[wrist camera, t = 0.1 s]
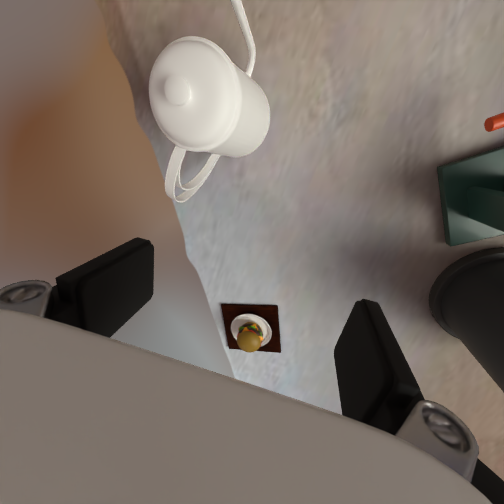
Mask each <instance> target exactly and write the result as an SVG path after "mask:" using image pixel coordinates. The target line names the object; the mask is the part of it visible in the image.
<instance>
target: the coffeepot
mask: <svg viewBox="0 0 504 504" xmlns="http://www.w3.org/2000/svg"><path fill="white" fill-rule="evenodd" d="M230 1H231V4H232V6H233V9H234V12H235V14H236V17H237V20H238V22H239V25H240V28H241V30H242V33H243V36H244V38H245V41H246V44H247V47H248V51H249V58H248V64H247V67H246V71H245V72H243V71H242V70H241V69H240V68H239V67H237V66H236V65H235V64H234V63H233V62H232V61H231V60H230V58H229V57H228V56H227V54H226V53H225V52H224V51H223V50H222V49H221V48H220V47H219V46H218V45H216V44H215V43H213V42H212V41H210V40H208V39H205V38H202V37H197V36H187V37H182V38H179V39H177V40H175V41H173V42H171V43H170V44H169V45H167V46H166V47H165V48H164V49H163V50H162V52H161V53H160V54H159V56H158V57H157V59H156V61H155V63H154V65H153V68H152V70H151V74H150V79H149V98H150V105H151V109H152V112H153V115H154V118H155V120H156V122H157V124H158V126H159V128H160V129H161V131H162V132H163V133H164V135H165V136H166V137H167V138H168V139H169V140H170V141H171V142H173V143H174V144H176V146H175V148H174V150H173V153H172V155H171V158H170V161H169V165H168V168H167V173H166V178H165V191H166V194H167V196H168V197H170V198H172V199H173V200H175V201H177V202H184V201H186V200H188V199H189V198H190V197H191V196H193V195H194V194H195V193H196V192H197V190H198V189H199V188H200V187H201V186H202V184H203V183H204V181H205V180H206V179H207V177H208V176H209V174H210V172H211V171H212V169H213V167H214V166H215V164H216V162H217V160H218V158H219V157H220V156H227V157H242V156H246V155H248V154H250V153H252V152H253V151H254V150H256V149H257V148H258V147H259V146H260V145H261V143H262V142H263V140H264V139H265V137H266V134H267V132H268V129H269V124H270V108H269V103H268V100H267V97H266V95H265V93H264V91H263V90H262V88H261V87H260V86H259V85H258V84H257V83H256V82H255V81H254V80H253V79H252V78H251V74H252V71H253V67H254V63H255V57H256V51H255V44H254V40H253V37H252V34H251V31H250V27H249V24H248V21H247V18H246V14H245V11H244V8H243V5H242V2H241V0H230ZM186 150H188V151H194V152H204V151H205V152H210V153H212V155H211V156H210V158H209V159H208V161H207V163H206V164H205V166H204V167H203V169H202V170H201V171H200V172H199V173H198V175H197V176H196V177H195V178H194V179H192V180H191V181H190V182H188V183H186V184H183V185H181V183H180V168H181V163H182V160H183V158H184V156H185V152H186ZM175 185H176V186H178V187H180V188H181V189H183V190H186V191H185V192H183V193H182V194H180V195H179V196H176V197H175V193H174V188H175Z"/></svg>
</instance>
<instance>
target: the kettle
mask: <svg viewBox="0 0 504 504" xmlns="http://www.w3.org/2000/svg"><path fill="white" fill-rule="evenodd" d="M429 306H430V310H431V313H432V315H433V317H434V318H435V319H436V321H437V322H438V323H439V325H440V326H441V327H442V328H443V329H444V330H445V331H446V332H448V333H449V334H451V335H452V336H454V337H456V338H458V339H460V340H461V341H462V342H463V344H464V345H465V346H466V347H467V349H468V350H469V351H470V352H471V353H472V355H473V356H474V357H475V358H476V359H477V361H478V362H479V363H480V364H481V365H482V367H483V368H484V369H485V370H486V371H487V373H488V374H489V375H490V376H491V378H492V379H493V380H494V381H495V382H496V384H497V385H498V386H499V387H500V388H501V390H502V391H503V392H504V248H493V249H487V250H483V251H479V252H476V253H473V254H470V255H468V256H465V257H463V258H461V259H459V260H458V261H456V262H454V263H453V264H452V265H450V266H449V267H448V268H446V269H445V270H444V271H443V272H442V273H441V274H440V276H439V277H438V278H437V279H436V281H435V282H434V284H433V286H432V288H431V291H430V295H429Z"/></svg>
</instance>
